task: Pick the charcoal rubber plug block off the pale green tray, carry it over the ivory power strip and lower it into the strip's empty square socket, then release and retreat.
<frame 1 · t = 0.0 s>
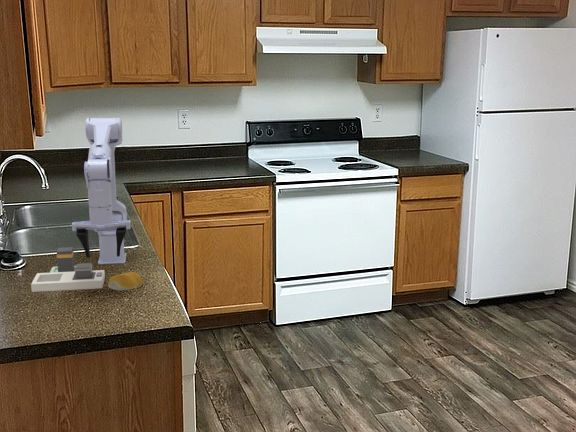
hand: (103, 256, 172), 10 cm above the worktop, fingers open, 7 cm apart
bread roll: (125, 287, 179), on the worktop
tray: (66, 274, 189), on the worktop
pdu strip: (69, 285, 179), on the worktop
plug: (66, 272, 188), resting on tray
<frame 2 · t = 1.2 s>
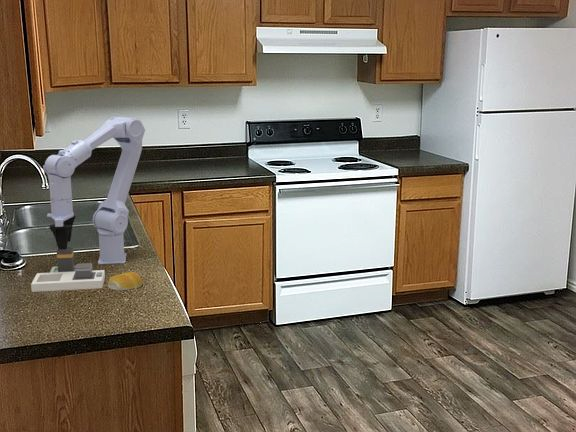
hand: (64, 245, 186), 9 cm above the worktop, fingers open, 7 cm apart
nothing on the worktop moved.
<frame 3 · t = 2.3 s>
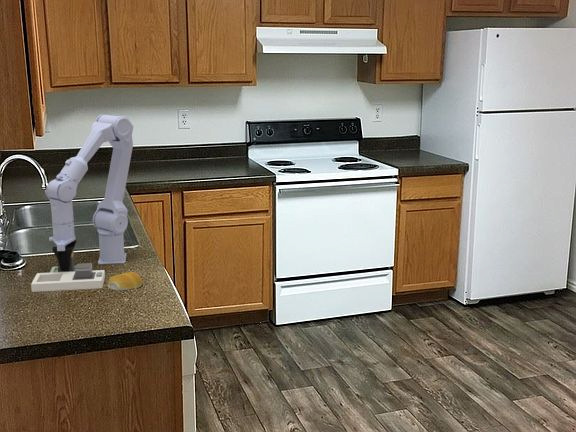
hand: (66, 268, 188), 2 cm above the worktop, fingers closed on plug, 4 cm apart
plug: (66, 272, 188), resting on tray, touching gripper
everything else where it was.
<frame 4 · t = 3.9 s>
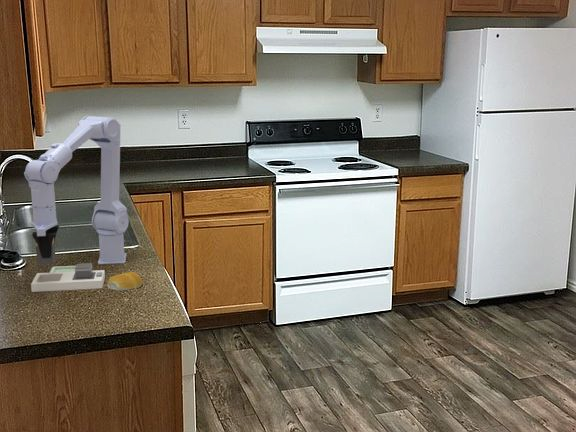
hand: (47, 255, 176), 9 cm above the worktop, fingers closed on plug, 4 cm apart
plug: (46, 261, 177), point 7 cm above the worktop, touching gripper
everything else where it was.
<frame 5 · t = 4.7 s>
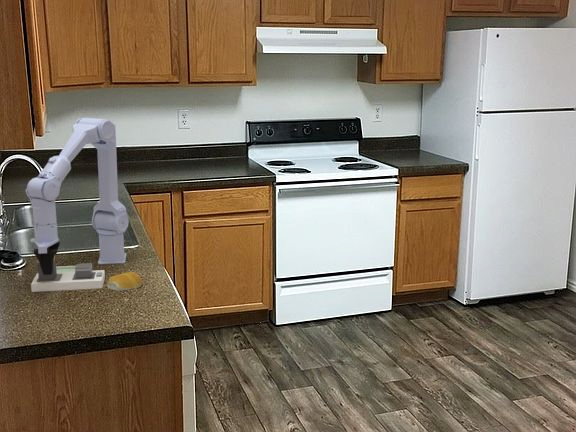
hand: (49, 271, 177), 4 cm above the worktop, fingers closed on plug, 4 cm apart
plug: (48, 278, 178), point 2 cm above the worktop, touching gripper
everything else where it was.
when the fingers open (3 cm above the worktop, at t = 5.3 s): plug drops 1 cm, resting in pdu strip.
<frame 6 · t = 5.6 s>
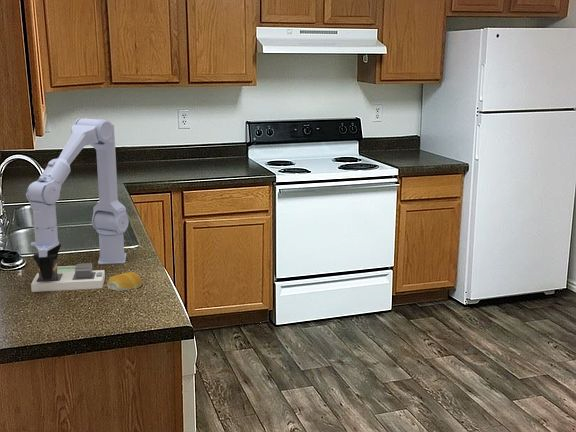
hand: (49, 275, 178), 3 cm above the worktop, fingers open, 6 cm apart
plug: (49, 286, 178), resting in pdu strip
everything else where it was.
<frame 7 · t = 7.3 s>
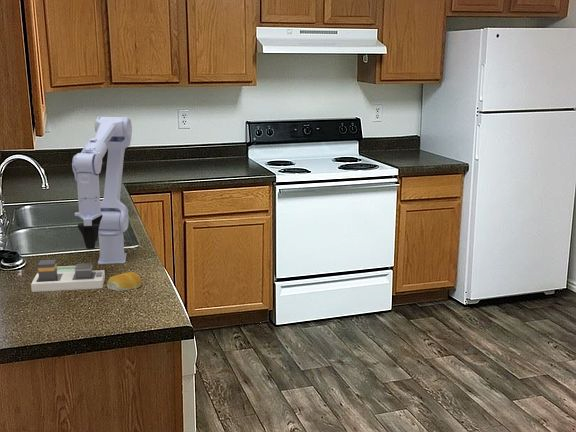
hand: (91, 244, 183), 10 cm above the worktop, fingers open, 7 cm apart
nothing on the worktop moved.
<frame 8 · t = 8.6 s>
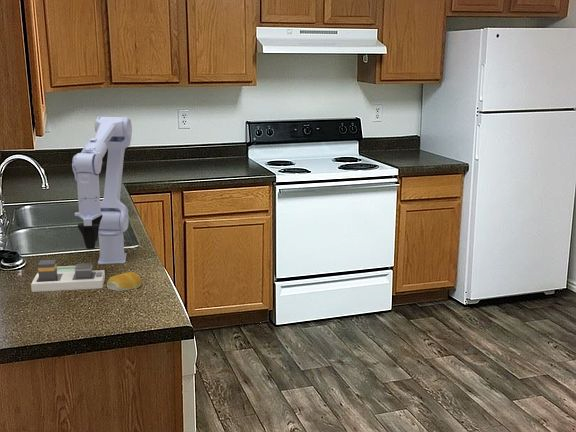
hand: (91, 244, 183), 10 cm above the worktop, fingers open, 7 cm apart
nothing on the worktop moved.
at the end: plug 0.3 cm from the target spot on the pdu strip, point 0.0 cm above the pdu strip's base; plug tilted 0°; the gripper is holding nothing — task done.
